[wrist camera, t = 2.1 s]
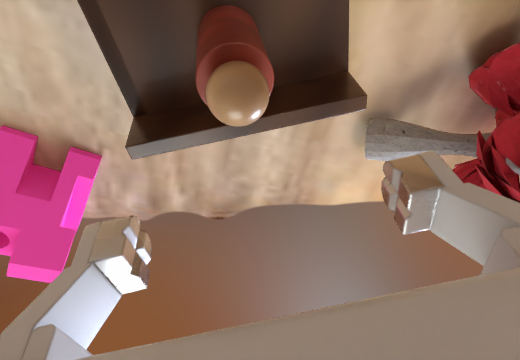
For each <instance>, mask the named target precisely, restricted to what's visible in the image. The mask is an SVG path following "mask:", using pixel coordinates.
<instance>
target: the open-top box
mask: <svg viewBox="0 0 520 360" xmlns="http://www.w3.org/2000/svg"><path fill="white" fill-rule="evenodd" d="M77 1H78V3H79V5H80V7H81V9H82V11H83V13H84V15H85V17H86V19H87V22H88V24H89V26H90V28H91V30H92V32H93V34H94V36H95V38H96V40H97V42H98V44H99V46H100V49H101V51H102V53H103V55H104V57H105V59H106V61H107V63H108V65H109V67H110V69H111V71H112V73H113V76H114V78H115V80H116V82H117V84H118V86H119V88H120V90H121V92H122V94H123V96H124V98H125V100H126V103H127V105H128V107H129V109H130V111H131V113H132V115H133V117H134V118H133V122H132V125H131V129H130V132H129V135H128V139H127V142H126V146H125V148H126V149H127V151H128V153H129V155H130V157H131V159H132V160H133V159H138V158H143V157H147V156H152V155H157V154H161V153H166V152H171V151H175V150H180V149H185V148H189V147H194V146H199V145H203V144H208V143H213V142H217V141H222V140H227V139H231V138H236V137H241V136H245V135H250V134H255V133H259V132H264V131H269V130H273V129H278V128H283V127H287V126H292V125H297V124H301V123H306V122H311V121H315V120H320V119H325V118H329V117H334V116H339V115H343V114H348V113H353V112H357V111H362V110H366V105H367V94H366V93H365V92H364V91H363V89H362V88H361V87H360V86H359V84H358V83H357V82H356V80H355V79H354V78H353V77H352V75H351V74H350V73H349V72H348V47H349V0H77ZM221 5H233V6H237V7H239V8H241V9H243V10H245V11H246V12H247V13H248V14H249V15H250V16H251V17H252V19H253V20H254V22H255V24H256V26H257V29H258V31H259V34H260V37H261V39H262V42H263V44H264V47H265V49H266V52H267V55H268V57H269V60H270V62H271V65H272V68H273V72H274V85H273V89H272V92H271V94H270V96H269V102H268V105H267V108H266V110H265V112H264V113H263V114H262V116H261V117H260V118H259V119H258V120H256V121H255V122H253V123H251V124H249V125H246V126H238V127H237V126H230V125H227V124H225V123H223V122H221V121H219V120H218V119H217V118H216V117H215V116H214V115H213V114H212V112H211V111H210V109H209V107H208V106H207V105H206V104H205V103H204V101H203V100H202V99H201V97H200V95H199V93H198V91H197V87H196V47H197V29H198V26H199V23H200V21H201V19H202V18H203V16H204V15H205V14H206V13H207V12H208V11H210V10H211V9H213V8H215V7H217V6H221Z"/></svg>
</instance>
